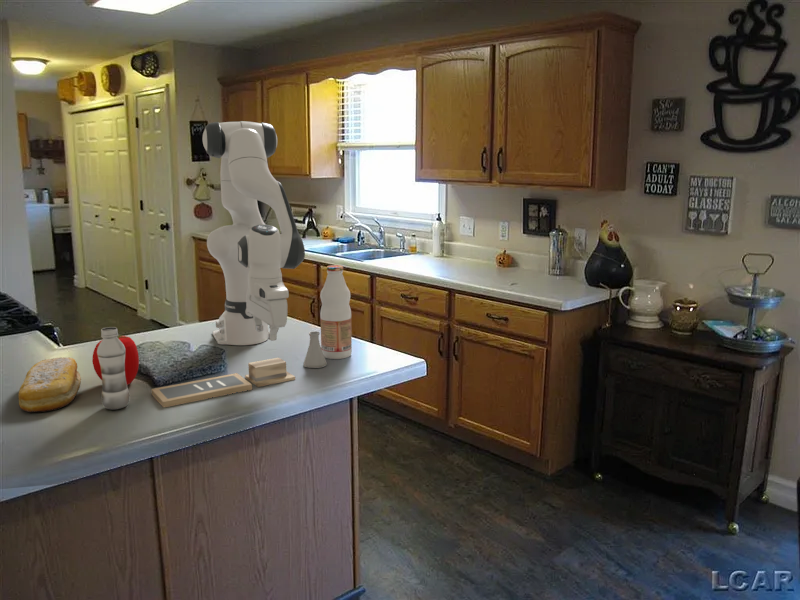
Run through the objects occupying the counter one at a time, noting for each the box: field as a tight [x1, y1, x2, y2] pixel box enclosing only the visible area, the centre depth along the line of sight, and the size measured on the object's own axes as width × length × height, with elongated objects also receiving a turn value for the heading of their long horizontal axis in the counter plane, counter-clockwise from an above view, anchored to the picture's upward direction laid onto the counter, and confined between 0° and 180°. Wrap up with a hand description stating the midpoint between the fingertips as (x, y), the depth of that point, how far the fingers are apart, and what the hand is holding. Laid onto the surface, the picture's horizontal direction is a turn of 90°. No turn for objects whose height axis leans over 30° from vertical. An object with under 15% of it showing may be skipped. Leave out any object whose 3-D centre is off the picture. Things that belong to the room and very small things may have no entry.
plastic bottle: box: [97, 326, 131, 411], centre depth 160 cm, size 6×7×20 cm
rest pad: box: [244, 370, 296, 388], centre depth 183 cm, size 9×11×1 cm
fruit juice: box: [319, 264, 353, 360], centre depth 202 cm, size 9×9×28 cm
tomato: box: [92, 334, 140, 386], centre depth 176 cm, size 13×11×14 cm
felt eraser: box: [248, 357, 288, 382], centre depth 182 cm, size 5×9×4 cm, turn 124°
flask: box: [302, 330, 328, 369], centre depth 194 cm, size 7×7×10 cm
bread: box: [17, 356, 82, 413], centre depth 169 cm, size 13×26×8 cm, turn 23°
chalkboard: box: [151, 372, 253, 408], centre depth 173 cm, size 11×23×2 cm, turn 124°
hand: (265, 335), depth 181 cm, fingers open, 8 cm apart
